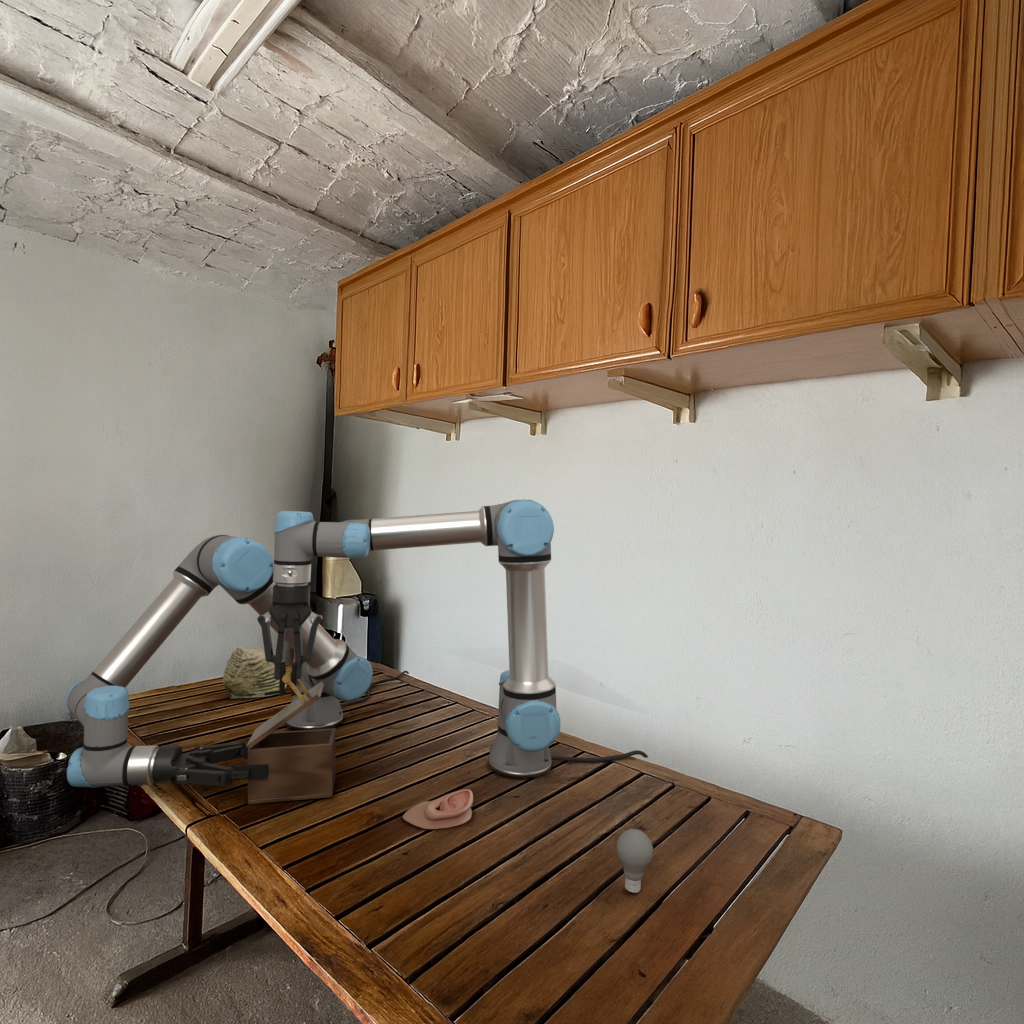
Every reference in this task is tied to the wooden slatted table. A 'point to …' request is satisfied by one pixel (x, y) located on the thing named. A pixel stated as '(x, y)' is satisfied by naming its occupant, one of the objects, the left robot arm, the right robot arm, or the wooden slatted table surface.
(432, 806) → the anatomical model
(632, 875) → the light bulb
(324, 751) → the chest
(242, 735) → the wooden slatted table surface
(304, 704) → the lid
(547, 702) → the right robot arm
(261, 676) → the fossil
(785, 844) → the wooden slatted table surface
